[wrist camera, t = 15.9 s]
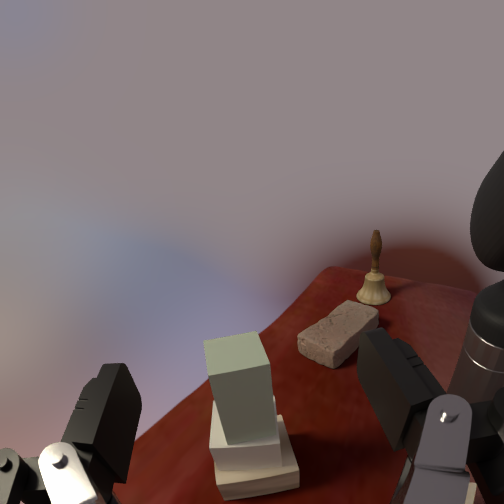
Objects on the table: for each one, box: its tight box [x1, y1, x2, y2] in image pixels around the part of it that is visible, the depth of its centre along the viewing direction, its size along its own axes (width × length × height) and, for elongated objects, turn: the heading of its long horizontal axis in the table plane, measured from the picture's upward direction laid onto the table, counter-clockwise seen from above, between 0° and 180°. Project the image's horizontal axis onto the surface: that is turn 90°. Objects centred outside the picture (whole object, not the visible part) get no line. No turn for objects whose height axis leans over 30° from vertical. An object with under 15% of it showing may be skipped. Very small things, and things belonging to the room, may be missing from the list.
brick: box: [298, 300, 379, 369], centre depth 55 cm, size 17×8×5 cm, turn 132°
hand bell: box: [357, 230, 391, 305], centre depth 66 cm, size 8×8×16 cm
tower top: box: [209, 396, 282, 471], centre depth 31 cm, size 7×7×5 cm
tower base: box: [214, 415, 299, 501], centre depth 32 cm, size 9×9×5 cm
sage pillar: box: [204, 331, 276, 445], centre depth 28 cm, size 5×5×10 cm
